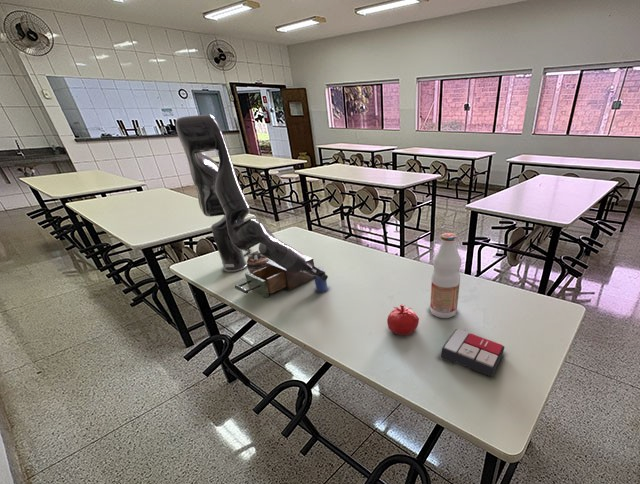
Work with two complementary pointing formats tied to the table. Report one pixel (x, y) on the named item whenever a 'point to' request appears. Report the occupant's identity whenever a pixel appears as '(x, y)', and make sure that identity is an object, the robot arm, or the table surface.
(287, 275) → the cabinet
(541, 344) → the table surface
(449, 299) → the fruit juice
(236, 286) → the drawer
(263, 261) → the cupcake
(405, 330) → the pomegranate
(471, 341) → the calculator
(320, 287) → the pepper shaker
